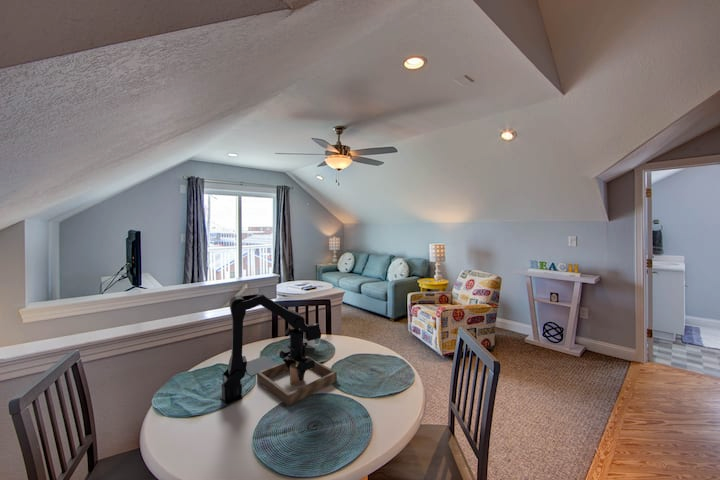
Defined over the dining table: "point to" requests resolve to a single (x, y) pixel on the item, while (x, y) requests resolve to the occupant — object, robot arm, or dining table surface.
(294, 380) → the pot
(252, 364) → the mat
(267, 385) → the frame
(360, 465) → the dining table surface
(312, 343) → the mug
